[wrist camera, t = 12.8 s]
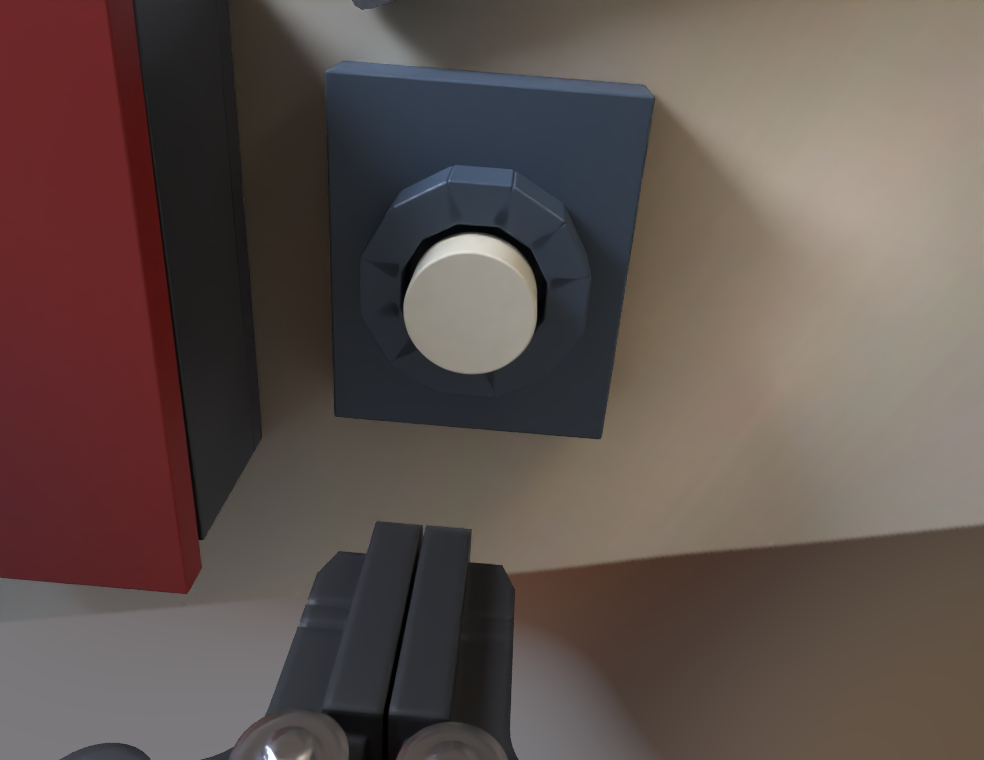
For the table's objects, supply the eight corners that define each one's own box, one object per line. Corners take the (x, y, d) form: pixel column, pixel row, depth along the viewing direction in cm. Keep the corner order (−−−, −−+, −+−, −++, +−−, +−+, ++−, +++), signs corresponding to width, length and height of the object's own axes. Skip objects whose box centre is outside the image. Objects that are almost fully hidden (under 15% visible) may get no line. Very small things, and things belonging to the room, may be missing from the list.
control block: (341, 60, 24) (307, 79, 20) (645, 84, 24) (665, 106, 20) (347, 386, 29) (321, 446, 25) (597, 407, 29) (605, 470, 25)
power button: (413, 225, 22) (404, 246, 21) (542, 236, 22) (543, 257, 21) (410, 343, 24) (401, 369, 22) (531, 353, 24) (530, 380, 22)
